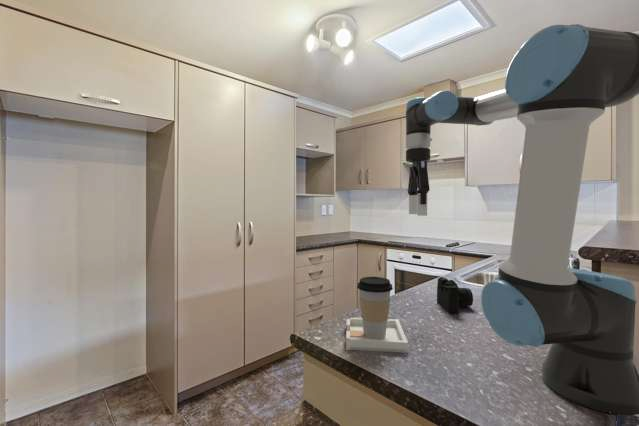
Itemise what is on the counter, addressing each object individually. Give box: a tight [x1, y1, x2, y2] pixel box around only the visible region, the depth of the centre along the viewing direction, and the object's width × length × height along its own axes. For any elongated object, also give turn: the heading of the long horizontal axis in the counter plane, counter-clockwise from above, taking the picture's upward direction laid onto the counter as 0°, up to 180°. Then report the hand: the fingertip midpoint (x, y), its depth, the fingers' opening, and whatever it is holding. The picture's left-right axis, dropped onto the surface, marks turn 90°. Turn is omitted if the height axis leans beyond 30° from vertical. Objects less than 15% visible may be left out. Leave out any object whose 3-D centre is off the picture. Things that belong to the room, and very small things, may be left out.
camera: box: [436, 276, 474, 315], centre depth 107 cm, size 14×11×10 cm
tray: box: [345, 317, 409, 354], centre depth 83 cm, size 15×15×2 cm
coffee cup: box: [356, 276, 394, 340], centre depth 82 cm, size 9×9×15 cm
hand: (417, 214), depth 99 cm, fingers open, 13 cm apart
